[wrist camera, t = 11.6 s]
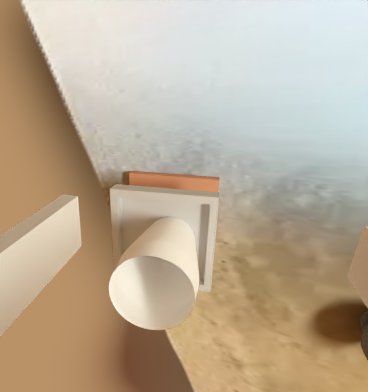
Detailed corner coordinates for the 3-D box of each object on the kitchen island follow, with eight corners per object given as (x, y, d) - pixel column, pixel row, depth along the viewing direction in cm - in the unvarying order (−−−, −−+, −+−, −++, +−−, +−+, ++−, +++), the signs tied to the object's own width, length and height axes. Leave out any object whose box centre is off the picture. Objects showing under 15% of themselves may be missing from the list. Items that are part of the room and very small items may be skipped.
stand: (131, 170, 46) (109, 188, 37) (219, 177, 45) (218, 197, 35) (133, 247, 50) (113, 280, 41) (212, 256, 49) (210, 291, 40)
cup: (132, 255, 41) (99, 314, 30) (148, 199, 38) (117, 241, 27) (192, 275, 41) (181, 342, 30) (213, 220, 38) (209, 272, 27)
